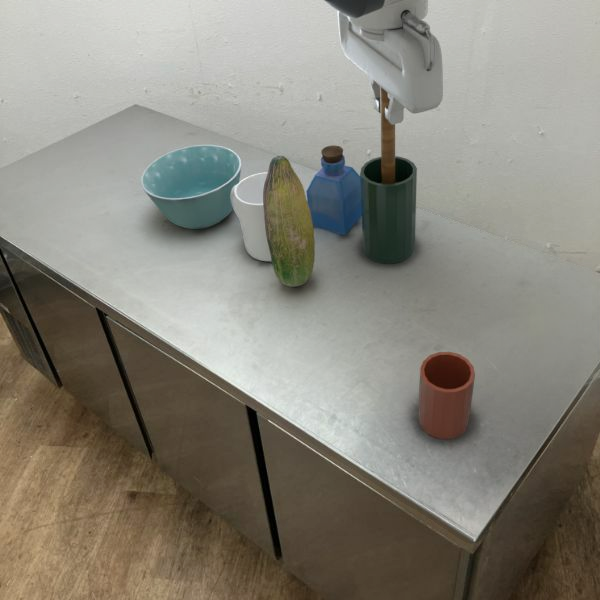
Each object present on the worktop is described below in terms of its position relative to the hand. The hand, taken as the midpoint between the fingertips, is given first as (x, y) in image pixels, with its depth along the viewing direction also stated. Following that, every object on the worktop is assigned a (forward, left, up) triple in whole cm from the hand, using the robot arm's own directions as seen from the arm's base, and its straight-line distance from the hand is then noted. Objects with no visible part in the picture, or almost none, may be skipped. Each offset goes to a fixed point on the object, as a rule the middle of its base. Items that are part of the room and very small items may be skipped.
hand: (388, 115), depth 80 cm
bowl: (+22, +23, -21) cm, 38 cm away
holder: (-30, +8, -21) cm, 37 cm away
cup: (0, 0, -21) cm, 21 cm away
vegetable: (-2, +15, -21) cm, 26 cm away
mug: (+10, +16, -21) cm, 28 cm away
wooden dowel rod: (0, 0, -17) cm, 17 cm away
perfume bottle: (+10, +4, -21) cm, 24 cm away
